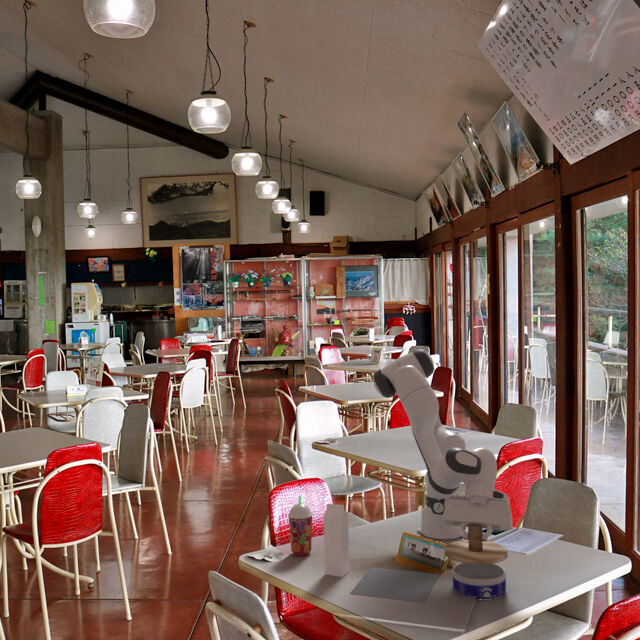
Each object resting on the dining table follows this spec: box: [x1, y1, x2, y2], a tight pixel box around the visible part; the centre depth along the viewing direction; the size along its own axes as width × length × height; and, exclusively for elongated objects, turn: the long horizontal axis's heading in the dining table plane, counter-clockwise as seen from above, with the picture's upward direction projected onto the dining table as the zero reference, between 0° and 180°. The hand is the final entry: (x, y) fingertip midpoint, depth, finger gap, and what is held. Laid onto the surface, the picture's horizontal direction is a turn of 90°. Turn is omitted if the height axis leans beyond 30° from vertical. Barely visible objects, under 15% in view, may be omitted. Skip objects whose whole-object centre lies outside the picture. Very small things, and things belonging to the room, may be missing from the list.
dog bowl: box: [451, 562, 507, 601], centre depth 206 cm, size 15×15×6 cm
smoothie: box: [287, 495, 313, 557], centre depth 241 cm, size 8×8×20 cm
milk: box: [322, 503, 351, 578], centre depth 221 cm, size 6×6×22 cm
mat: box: [349, 566, 441, 604], centre depth 210 cm, size 22×22×1 cm
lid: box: [444, 524, 509, 565], centre depth 205 cm, size 18×18×8 cm
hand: (475, 539), depth 205 cm, fingers closed on lid, 4 cm apart
